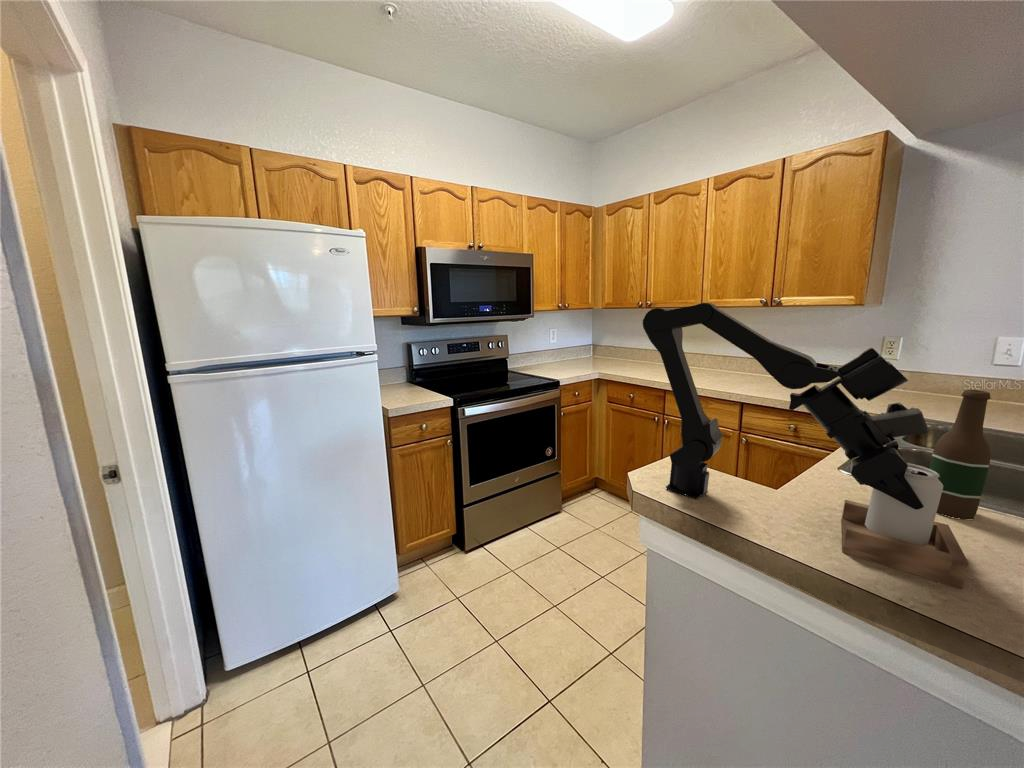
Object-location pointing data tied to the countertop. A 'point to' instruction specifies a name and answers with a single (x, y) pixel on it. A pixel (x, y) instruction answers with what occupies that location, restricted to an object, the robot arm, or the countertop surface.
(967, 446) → the beer bottle
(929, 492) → the can
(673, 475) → the robot arm
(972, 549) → the countertop surface
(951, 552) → the brown wooden square tray
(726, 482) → the countertop surface
